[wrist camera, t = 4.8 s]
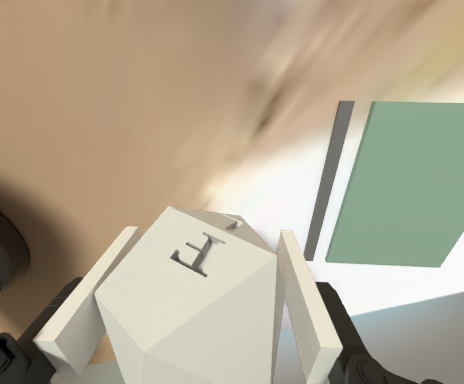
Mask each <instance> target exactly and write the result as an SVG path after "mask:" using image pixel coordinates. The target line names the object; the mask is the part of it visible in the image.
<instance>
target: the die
mask: <svg viewBox="0 0 464 384" xmlns="http://www.w3.org/2000/svg"><path fill="white" fill-rule="evenodd" d="M94 296H95V299H96V302H97V305H98V307H99V310H100V313H101V316H102V319H103V322H104V324H105V327H106V330H107V333H108V336H109V339H110V342H111V344H112V347H113V350H114V353H115V356H116V359H117V361H118V364H119V367H120V370H121V373H122V376H123V379H124V381H125V384H272V383H273V376H274V368H275V362H276V355H277V348H278V341H279V334H280V327H281V320H282V313H283V306H284V299H285V287H284V283H283V279H282V274H281V270H280V266H279V261H278V257H277V255H276V254H275V253H274V252H273V251H272V249H271V248H270V247H269V246H268V245H267V244H266V243H265V242H264V241H263V240H262V239H261V238H260V237H259V235H258V234H257V233H256V232H255V231H254V230H253V229H252V228H251V227H250V226H249V225H248V224H247V223H246V221H245V220H244V219H243V218H242V217H241V216H237V215H230V214H220V213H215V212H208V211H201V210H193V209H186V208H179V207H172V206H168V207H167V209H166V210H165V211H164V212H163V213H162V214H161V216H160V217H159V218H158V219H157V220H156V221H155V223H154V224H153V225H152V226H151V227H150V228H149V230H148V231H147V232H146V233H145V234H144V235H143V236H142V238H141V239H140V240H139V241H138V242H137V243H136V245H135V246H134V247H133V248H132V249H131V250H130V252H129V253H128V254H127V255H126V256H125V257H124V258H123V260H122V261H121V262H120V263H119V264H118V265H117V267H116V268H115V269H114V270H113V271H112V272H111V274H110V275H109V276H108V277H107V278H106V279H105V281H104V282H103V283H102V284H101V285H100V286H99V287H98V289H97V290H96V291H95V292H94Z"/></svg>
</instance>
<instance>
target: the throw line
mask: <svg viewBox="0 0 464 384" xmlns="http://www.w3.org/2000/svg"><path fill="white" fill-rule="evenodd" d="M354 102H355V101H339V105H338V109H337V113H336V118H335V122H334V126H333V131H332V135H331V139H330V144H329V148H328V152H327V156H326V161H325V165H324V169H323V174H322V178H321V182H320V187H319V191H318V195H317V199H316V204H315V208H314V212H313V217H312V221H311V225H310V230H309V234H308V238H307V242H306V247H305V251H304V255H303V256H304V258H305V260H306V261H313V258H314V254H315V250H316V246H317V243H318V239H319V235H320V231H321V227H322V224H323V220H324V216H325V212H326V209H327V205H328V201H329V197H330V193H331V190H332V186H333V182H334V178H335V174H336V171H337V167H338V163H339V159H340V155H341V152H342V148H343V144H344V140H345V137H346V133H347V129H348V125H349V121H350V118H351V114H352V110H353V106H354Z"/></svg>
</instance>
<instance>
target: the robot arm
mask: <svg viewBox="0 0 464 384" xmlns="http://www.w3.org/2000/svg"><path fill="white" fill-rule="evenodd" d="M140 239H141V236H140V232H139V228H138V227H126V228H125V229H124V230H123V231H122V233H121V234H120V235H119V236H118V237H117V239H116V240H115V241H114V242H113V243H112V245H111V246H110V247H109V248H108V249H107V251H106V252H105V253H104V254H103V256H102V257H101V258H100V259H99V260H98V262H97V263H96V264H95V265H94V266H93V268H92V269H91V270H90V271H89V272H88V274H87V275H86V276H85V277H84V278H81V277H77V278H76V279H74V280H73V281H72V282H70V283H69V284H67V285H66V286H65V287H64V288H63V289H62V290H61V291H60V293H59V294H58V295H57V296H56V298H54V299H53V300H52V302H51V303H50V304H49V306H48V307H46V308H45V309H44V311H43V312H42V313H41V314H40V315H39V316H38V317H37V318H36V320H35V321H34V322H33V323H32V324H31V325H30V326H29V327H28V329H27V330H26V331H25V332H24V333H23V334H22V335H21V336H20V338H19V339H18V340H17V341H16V340H15V339H14V338H13V337H12V336H11V334H10V333H4V332H3V333H0V384H51V382H50V379H51V378H52V376H53V375H54V373H55V372H56V371H57V373H58V374H59V375H60V376H61V378H80V377H81V375H82V373H83V371H84V370H85V368H86V366H87V364H88V363H89V361H90V359H91V357H92V355H93V353H94V352H95V350H96V348H97V346H98V344H99V342H100V341H101V339H102V337H103V335H104V333H105V332H106V327H105V324H104V322H103V319H102V316H101V313H100V310H99V307H98V305H97V302H96V299H95V296H94V292H95V291H96V290H97V289H98V287H99V286H100V285H101V284H102V283H103V282H104V281H105V279H106V278H107V277H108V276H109V275H110V274H111V272H112V271H113V270H114V269H115V268H116V267H117V265H118V264H119V263H120V262H121V261H122V260H123V258H124V257H125V256H126V255H127V254H128V253H129V252H130V250H131V249H132V248H133V247H134V246H135V245H136V243H137V242H138V241H139V240H140ZM277 257H278V261H279V266H280V270H281V274H282V279H283V283H284V287H285V300H286V304H287V308H288V312H289V316H290V320H291V324H292V328H293V332H294V336H295V340H296V344H297V348H298V352H299V356H300V360H301V364H302V368H303V372H304V376H305V380H306V384H325V383H326V381H327V379H328V378H329V381H330V384H418V383H416V382H413V381H410V380H407V379H405V378H402V377H400V376H397V375H395V374H393V373H391V372H389V371H387V370H386V369H384V368H383V367H382V366H381V365H380V364H379V363H378V362H377V361H376V360H375V359H373V358H372V357H371V356H370V354H369V353H368V351H367V349H366V348H365V346H364V344H363V342H362V340H361V338H360V336H359V334H358V333H357V330H356V329H355V327H354V325H353V323H352V321H351V319H350V317H349V315H348V313H347V312H346V309H345V307H344V305H343V304H342V301H341V300H340V298H339V296H338V294H337V292H336V291H335V290H334V289H333V287H332V286H331V285H330V284H329V283H328V282H315V281H314V279H313V277H312V274H311V272H310V270H309V267H308V265H307V263H306V260H305V258H304V256H303V253H302V251H301V249H300V246H299V244H298V242H297V239H296V237H295V235H294V232H293V230H281V231H280V238H279V244H278V250H277ZM28 265H29V255H28V251H27V248H26V246H25V244H24V242H23V240H22V238H21V237H20V235H19V234H18V232H17V231H16V230H15V229H14V227H13V226H12V225H11V224H10V223H9V222H8V221H7V220H6V219H5V218H4V217H3V216H2V215H1V214H0V292H2V291H4V290H5V289H6V288H8V287H9V286H10V285H11V284H13V283H14V282H15V281H16V280H18V279H19V278H20V277H21V276H23V275H24V273H25V272H26V270H27V268H28ZM421 384H443V383H441V382H438V381H436V380H431V379H426V380H425V381H423V382H422V383H421Z"/></svg>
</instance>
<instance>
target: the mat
mask: <svg viewBox="0 0 464 384" xmlns="http://www.w3.org/2000/svg"><path fill="white" fill-rule="evenodd" d="M463 231H464V103H416V102H373V103H372V106H371V110H370V113H369V116H368V120H367V123H366V126H365V130H364V133H363V136H362V139H361V143H360V146H359V149H358V153H357V156H356V159H355V163H354V166H353V169H352V173H351V176H350V179H349V183H348V186H347V189H346V193H345V196H344V199H343V203H342V206H341V209H340V213H339V216H338V219H337V223H336V226H335V229H334V233H333V236H332V239H331V243H330V246H329V249H328V252H327V256H326V259H325V260H326V262H333V263H355V264H376V265H398V266H420V267H440V266H441V265H442V263H443V262H444V260H445V259H446V257H447V256H448V254H449V253H450V251H451V250H452V248H453V247H454V245H455V244H456V242H457V241H458V239H459V238H460V236H461V234H462V233H463Z"/></svg>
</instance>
